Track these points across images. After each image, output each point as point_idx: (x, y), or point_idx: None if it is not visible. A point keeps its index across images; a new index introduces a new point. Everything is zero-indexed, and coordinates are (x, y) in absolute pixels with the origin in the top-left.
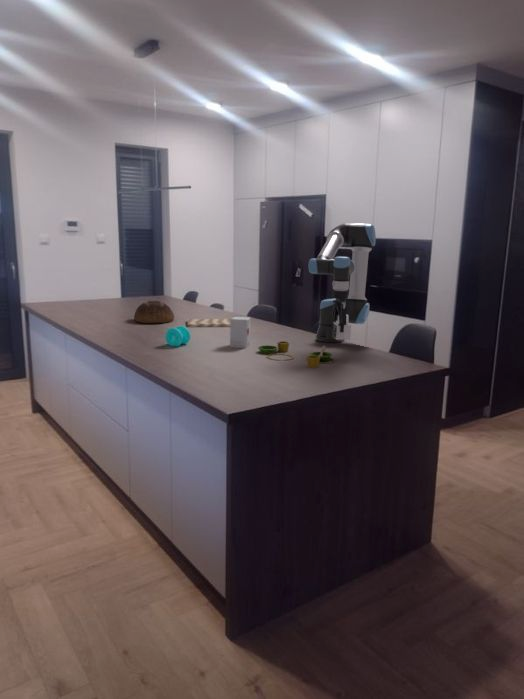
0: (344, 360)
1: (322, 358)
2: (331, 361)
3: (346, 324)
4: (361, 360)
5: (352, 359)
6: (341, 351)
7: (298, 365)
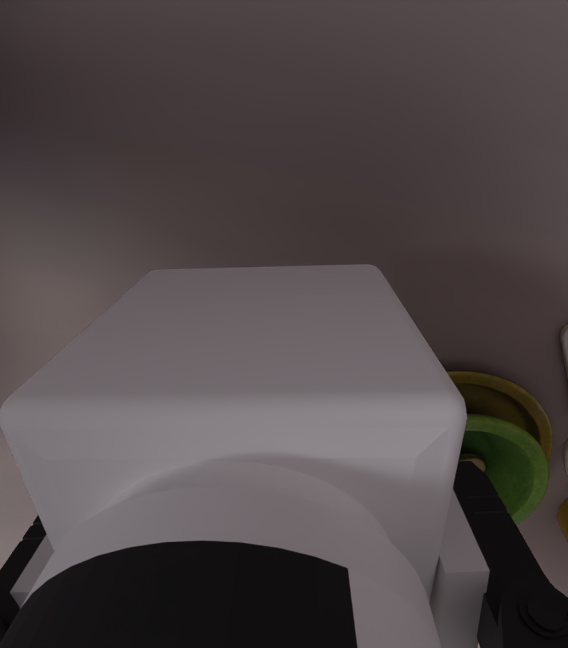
0: (430, 276)
1: (518, 475)
2: (528, 404)
3: (386, 516)
4: (451, 103)
5: (399, 193)
6: (73, 228)
7: None
